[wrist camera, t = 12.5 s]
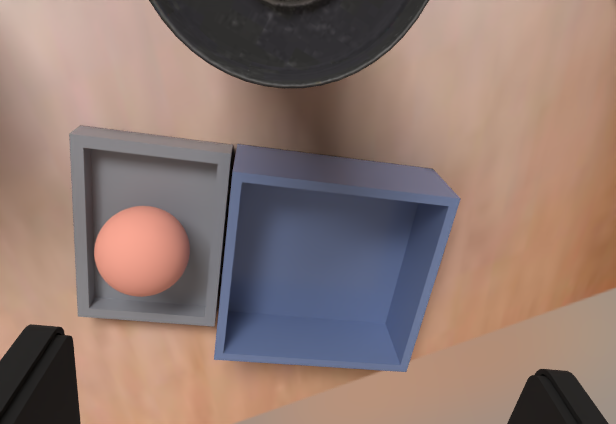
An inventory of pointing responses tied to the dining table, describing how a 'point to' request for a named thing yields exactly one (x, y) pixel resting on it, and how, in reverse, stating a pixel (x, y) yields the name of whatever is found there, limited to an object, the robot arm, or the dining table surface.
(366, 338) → the blue storage bin
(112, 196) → the tray
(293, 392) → the dining table surface
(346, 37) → the travel mug
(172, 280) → the ball
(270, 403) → the dining table surface
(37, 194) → the dining table surface
